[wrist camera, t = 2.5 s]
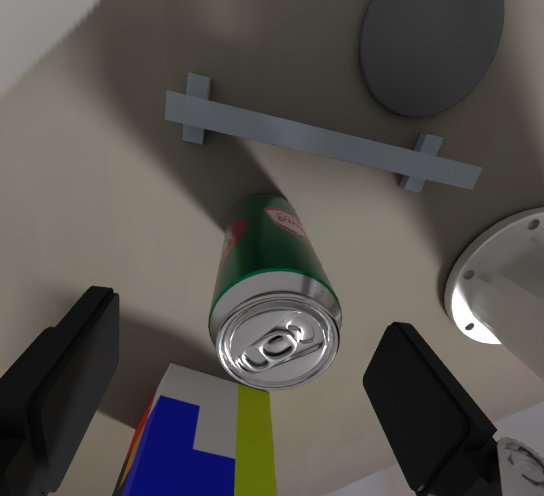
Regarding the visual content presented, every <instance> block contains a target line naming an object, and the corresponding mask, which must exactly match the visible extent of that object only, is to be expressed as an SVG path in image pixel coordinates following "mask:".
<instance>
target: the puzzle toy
mask: <svg viewBox="0 0 544 496" xmlns="http://www.w3.org/2000/svg"><path fill="white" fill-rule="evenodd" d="M112 496H277V493H276V479H275V465H274V452H273V438H272V424H271V411H270V397H269V393H267V392H264V391H261V390H257V389H254V388H251V387H248V386H244V385H241V384H238V383H234V382H231V381H228V380H225V379H221V378H218V377H215V376H212V375H208V374H205V373H202V372H199V371H195V370H192V369H189V368H186V367H182V366H179V365H176V364H172V363H170V365H169V367H168V369H167V371H166V372H165V374H164V376H163V378H162V380H161V382H160V384H159V386H158V388H157V390H156V392H155V394H154V396H153V398H152V400H151V402H150V403H149V405H148V407H147V409H146V411H145V413H144V415H143V417H142V419H141V421H140V423H139V425H138V427H137V429H136V431H135V434H134V436H133V439H132V442H131V445H130V448H129V450H128V453H127V456H126V459H125V461H124V464H123V467H122V470H121V473H120V475H119V478H118V481H117V484H116V487H115V489H114V492H113V495H112Z"/></svg>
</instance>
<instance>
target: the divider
mask: <svg viewBox="0 0 544 496" xmlns="http://www.w3.org/2000/svg"><path fill="white" fill-rule="evenodd" d="M210 88H211V78H210V77H206V76H202V75H198V74H194V73H190V72H188V75H187V87H186V95H185V94H181V93H177V92H172V91H168V90H166V103H165V119H164V120H168V121H173V122H177V123H181V124H183V132H182V140H184V141H188V142H193V143H197V144H204V139H205V130H206V129H207V130H212V131H216V132H221V133H225V134H229V135H234V136H238V137H242V138H247V139H251V140H255V141H260V142H264V143H269V144H273V145H277V146H282V147H286V148H290V149H295V150H299V151H303V152H308V153H312V154H317V155H321V156H325V157H330V158H334V159H338V160H343V161H347V162H351V163H356V164H360V165H364V166H369V167H373V168H378V169H382V170H386V171H391V172H395V173H399V174H404V175H403V177H402V180H401V182H400V185H399V187H401V188H403V189H406V190H410V191H415V192H419V193H420V192H421V190H422V187H423V185H424V183H425V180H430V181H434V182H439V183H443V184H447V185H452V186H456V187H460V188H465V189H469V190H472V189H473V187H474V185H475V183H476V181H477V179H478V177H479V175H480V173H481V171H482V169H483V168H482V167H478V166H474V165H470V164H466V163H462V162H458V161H454V160H450V159H446V158H442V157H438V156H436V155H437V153H438V151H439V148H440V146H441V144H442V141H443V139H444V138H442V137H439V136H435V135H431V134H427V133H420V135H419V138H418V140H417V142H416V145H415V147H414V150H409V149H405V148H401V147H397V146H393V145H389V144H385V143H380V142H376V141H372V140H368V139H364V138H360V137H356V136H352V135H348V134H344V133H340V132H336V131H332V130H327V129H323V128H319V127H315V126H311V125H307V124H303V123H299V122H295V121H291V120H287V119H283V118H279V117H274V116H270V115H266V114H262V113H258V112H254V111H250V110H246V109H242V108H238V107H234V106H230V105H225V104H221V103H217V102H213V101H209V96H210Z"/></svg>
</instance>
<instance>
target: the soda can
mask: <svg viewBox="0 0 544 496" xmlns="http://www.w3.org/2000/svg"><path fill="white" fill-rule="evenodd" d="M341 323H342V312H341V307H340V304H339V300H338V298H337V296H336V294H335V292H334V290H333V288H332V286H331V284H330V282H329V280H328V278H327V276H326V274H325V272H324V269H323V267H322V265H321V263H320V261H319V259H318V257H317V255H316V253H315V251H314V249H313V247H312V245H311V243H310V241H309V238H308V236H307V234H306V232H305V230H304V228H303V226H302V224H301V222H300V220H299V218H298V216H297V214H296V212H295V210H294V208H293V207H292V206H291V205H290V204H289V203H288V202H287V201H286V200H284V199H283V198H281V197H279V196H277V195H273V194H267V193H260V194H254V195H251V196H248V197H246V198H245V199H243V200H242V201H240V202H239V203H238V204H237V205H236V206H235V207H234V209H233V210H232V212H231V214H230V216H229V219H228V223H227V228H226V233H225V238H224V244H223V249H222V254H221V259H220V264H219V269H218V274H217V279H216V284H215V289H214V294H213V299H212V304H211V309H210V314H209V324H208V328H209V334H210V337H211V340H212V343H213V345H214V346H215V348H216V353H217V356H218V359H219V362H220V364H221V365H222V367H223V369H224V370H225V371H226V372H227V373H228V374H229V375H230V376H231V377H232V378H234V379H235V380H237V381H238V382H240V383H242V384H244V385H247V386H249V387H253V388H257V389H263V390H285V389H290V388H294V387H297V386H301V385H303V384H305V383H308V382H310V381H312V380H313V379H315V378H317V377H318V376H319V375H321V374H322V373H323V372H324V371H325V370H326V369H327V368H328V367H329V366H330V365H331V363H332V362H333V360H334V359H335V357H336V355H337V352H338V349H339V344H340V328H341Z"/></svg>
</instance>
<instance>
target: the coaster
mask: <svg viewBox="0 0 544 496" xmlns="http://www.w3.org/2000/svg"><path fill="white" fill-rule="evenodd" d="M503 21H504V0H371V2H370V4H369V6H368V8H367V11H366V14H365V17H364V20H363V24H362V28H361V33H360V41H359V59H360V67H361V71H362V75H363V78H364V81H365V84H366V86H367V88H368V90H369V91H370V93H371V94H372V96H373V97H374V98H375V99H376V100H377V102H378V103H379V104H381V105H382V106H383V107H384V108H386V109H387V110H389V111H391V112H393V113H396V114H399V115H404V116H428V115H432V114H436V113H439V112H441V111H444V110H446V109H448V108H449V107H451V106H453V105H454V104H456V103H457V102H459V101H460V100H461V99H463V98H464V97H465V96H466V95H467V94H468V93H469V92H470V91H471V90H472V89H473V88H474V87H475V86H476V85H477V83H478V82H479V81H480V79H481V78H482V77H483V75H484V74H485V72H486V71H487V69H488V67H489V65H490V63H491V61H492V59H493V58H494V55H495V53H496V50H497V48H498V44H499V41H500V38H501V33H502V28H503Z"/></svg>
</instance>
